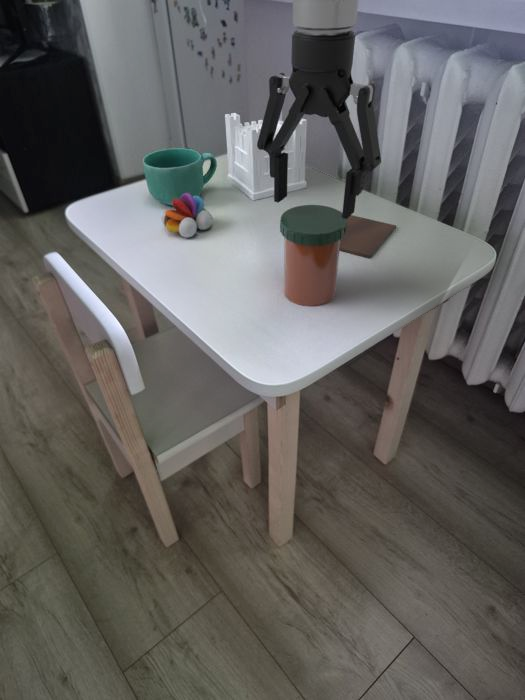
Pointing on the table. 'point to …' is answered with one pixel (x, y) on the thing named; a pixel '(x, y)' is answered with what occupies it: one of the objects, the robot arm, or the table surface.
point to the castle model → (262, 158)
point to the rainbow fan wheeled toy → (187, 216)
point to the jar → (310, 272)
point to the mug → (176, 173)
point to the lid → (312, 225)
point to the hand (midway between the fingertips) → (313, 206)
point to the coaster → (364, 236)
